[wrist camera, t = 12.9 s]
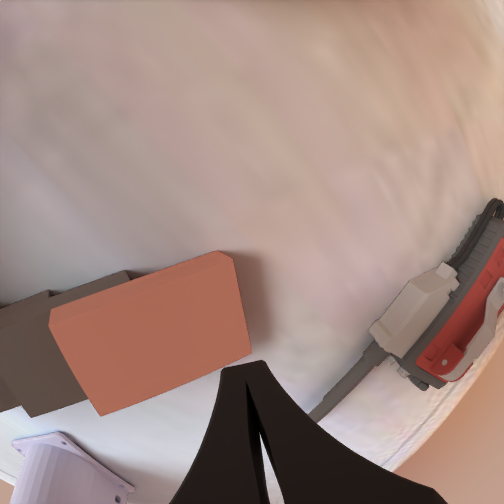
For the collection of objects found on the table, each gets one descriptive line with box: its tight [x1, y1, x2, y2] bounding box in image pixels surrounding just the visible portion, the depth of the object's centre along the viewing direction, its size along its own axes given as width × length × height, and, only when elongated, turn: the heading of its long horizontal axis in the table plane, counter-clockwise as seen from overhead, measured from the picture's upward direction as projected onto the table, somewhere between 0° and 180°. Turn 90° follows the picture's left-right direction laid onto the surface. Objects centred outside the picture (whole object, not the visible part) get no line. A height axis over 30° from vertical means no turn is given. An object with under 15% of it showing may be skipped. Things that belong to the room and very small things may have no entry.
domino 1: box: [0, 290, 52, 412], centre depth 12 cm, size 2×5×8 cm
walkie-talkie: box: [308, 198, 504, 423], centre depth 17 cm, size 9×4×20 cm
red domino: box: [48, 251, 252, 417], centre depth 13 cm, size 2×5×8 cm
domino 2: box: [0, 270, 130, 418], centre depth 12 cm, size 2×5×8 cm
